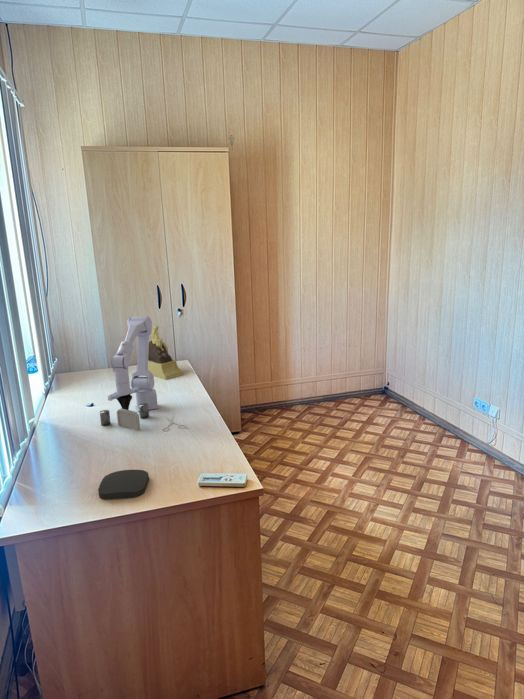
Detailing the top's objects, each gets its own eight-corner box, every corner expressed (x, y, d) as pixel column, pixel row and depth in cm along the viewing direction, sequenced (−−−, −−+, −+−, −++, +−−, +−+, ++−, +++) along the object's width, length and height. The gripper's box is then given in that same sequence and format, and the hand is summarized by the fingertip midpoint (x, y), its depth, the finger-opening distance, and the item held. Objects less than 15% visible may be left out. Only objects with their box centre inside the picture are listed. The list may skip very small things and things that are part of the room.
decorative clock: (183, 375, 280) (180, 325, 273) (165, 380, 271) (161, 328, 264) (156, 367, 299) (152, 320, 292) (139, 371, 290) (134, 324, 283)
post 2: (148, 415, 217) (147, 402, 215) (150, 417, 213) (148, 405, 212) (139, 416, 215) (138, 404, 214) (141, 419, 211) (139, 406, 210)
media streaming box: (143, 498, 147) (142, 489, 146) (96, 501, 146) (94, 493, 145) (150, 475, 161) (150, 467, 160) (107, 478, 160) (106, 470, 159)
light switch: (137, 431, 199) (135, 413, 197) (118, 425, 205) (116, 408, 203) (140, 429, 200) (138, 412, 198) (121, 424, 206) (119, 407, 205)
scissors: (163, 432, 195) (157, 416, 214) (163, 434, 196) (157, 417, 214) (188, 428, 199) (180, 412, 217) (188, 430, 199) (180, 414, 217)
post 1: (110, 422, 210) (108, 409, 208) (111, 425, 206) (109, 412, 205) (100, 423, 208) (99, 410, 207) (101, 426, 205) (100, 413, 203)
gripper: (131, 376, 211) (134, 405, 214) (102, 384, 200) (105, 414, 203) (140, 379, 206) (143, 408, 210) (111, 387, 196) (115, 418, 199)
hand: (125, 411), depth 206 cm, fingers closed
